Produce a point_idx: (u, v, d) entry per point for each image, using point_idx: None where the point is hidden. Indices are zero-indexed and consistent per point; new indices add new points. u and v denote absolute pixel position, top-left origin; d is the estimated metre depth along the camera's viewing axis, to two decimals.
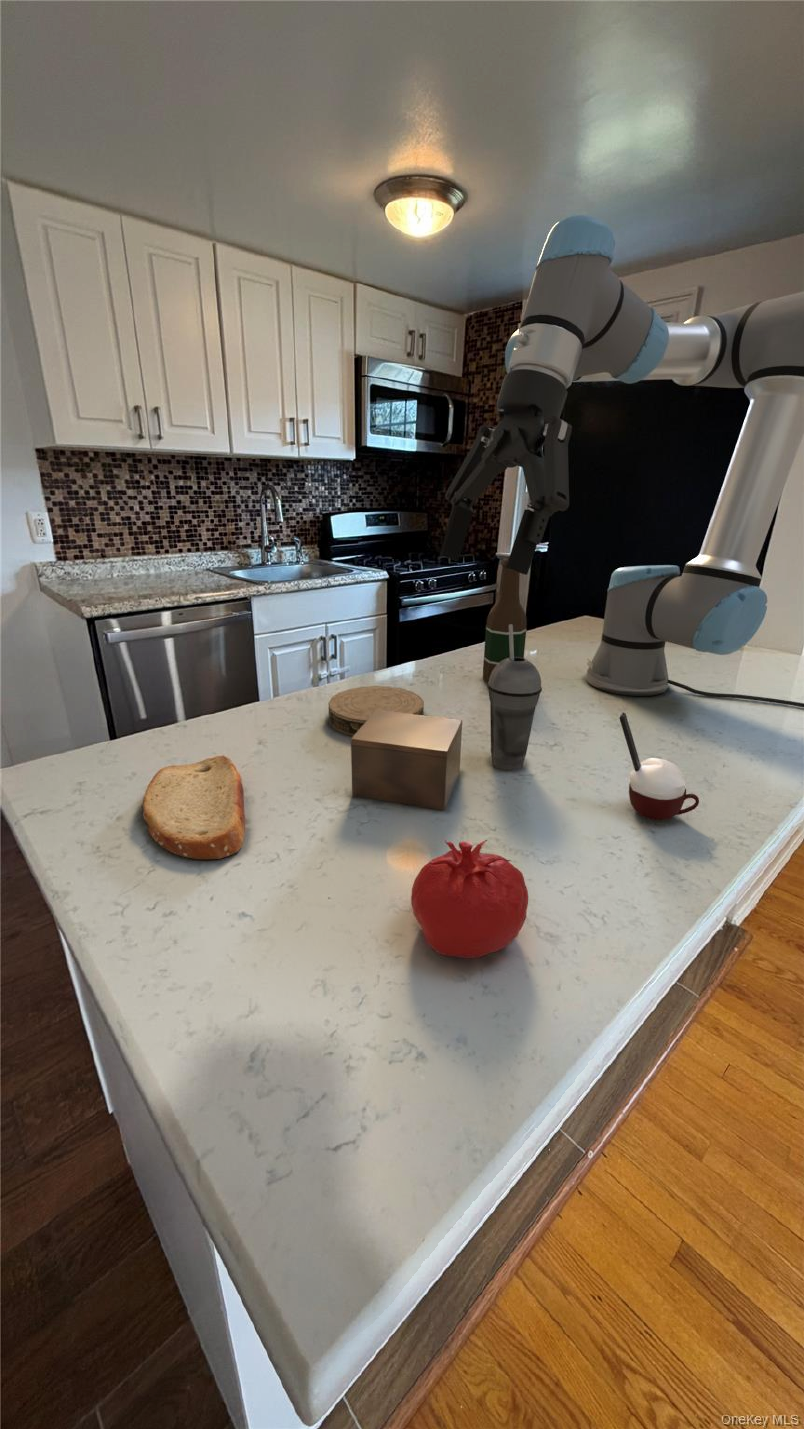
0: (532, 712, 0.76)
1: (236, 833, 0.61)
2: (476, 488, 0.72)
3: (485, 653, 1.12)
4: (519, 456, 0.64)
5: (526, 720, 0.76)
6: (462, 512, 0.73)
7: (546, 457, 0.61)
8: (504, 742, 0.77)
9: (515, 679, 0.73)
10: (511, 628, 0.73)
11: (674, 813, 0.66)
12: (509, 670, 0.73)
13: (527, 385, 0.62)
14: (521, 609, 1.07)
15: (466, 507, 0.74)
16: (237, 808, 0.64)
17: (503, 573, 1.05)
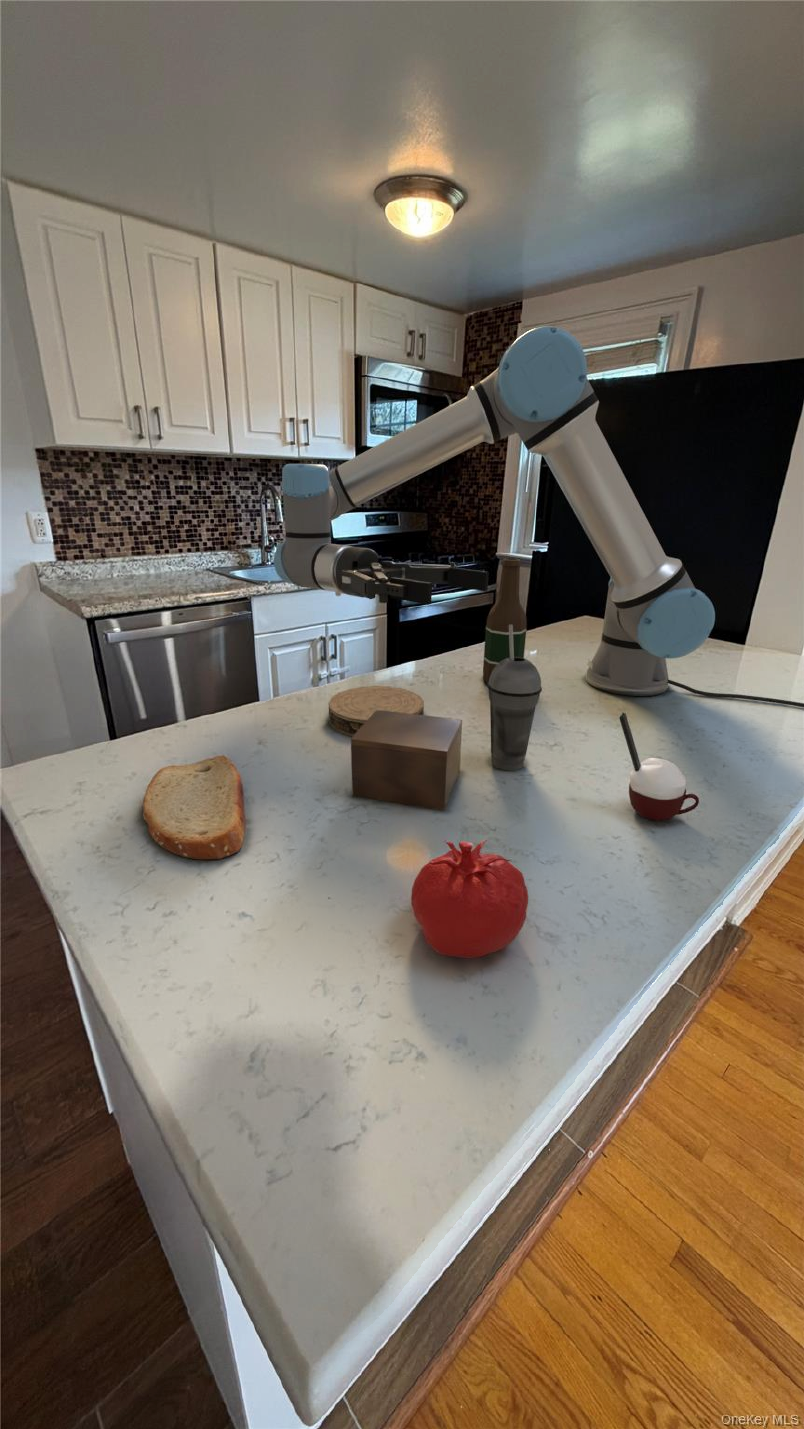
0: (532, 712, 0.76)
1: (236, 833, 0.61)
2: (431, 575, 0.87)
3: (485, 653, 1.12)
4: None
5: (526, 720, 0.76)
6: (451, 579, 0.86)
7: None
8: (504, 742, 0.77)
9: (515, 679, 0.73)
10: (511, 628, 0.73)
11: (674, 813, 0.66)
12: (509, 670, 0.73)
13: (348, 592, 0.88)
14: (521, 609, 1.07)
15: None
16: (237, 808, 0.64)
17: (503, 573, 1.05)
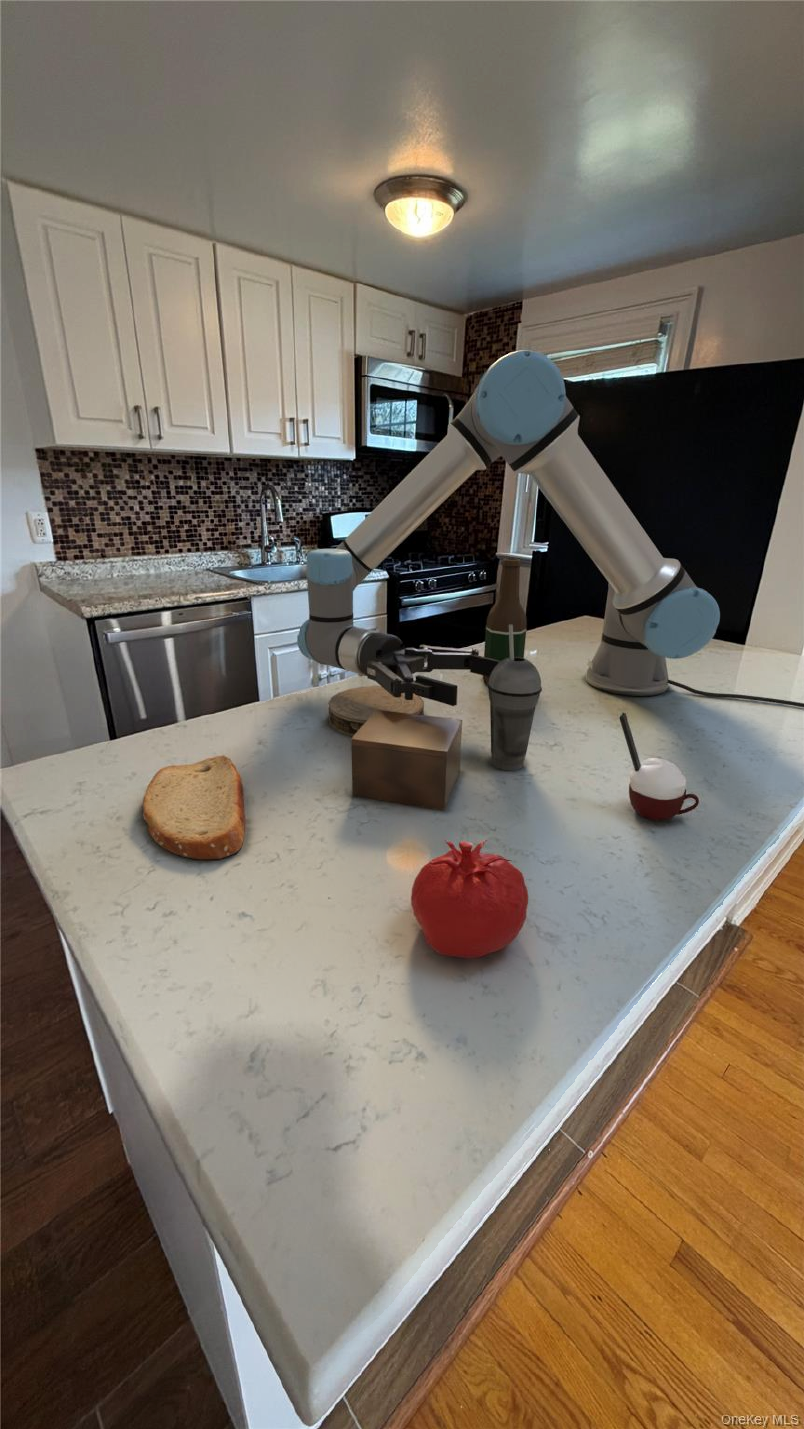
0: (532, 712, 0.76)
1: (236, 833, 0.61)
2: (453, 662, 0.89)
3: (485, 653, 1.12)
4: None
5: (526, 720, 0.76)
6: (473, 666, 0.88)
7: None
8: (504, 742, 0.77)
9: (515, 679, 0.73)
10: (511, 628, 0.73)
11: (674, 813, 0.66)
12: (509, 670, 0.73)
13: None
14: (521, 609, 1.07)
15: None
16: (237, 808, 0.64)
17: (503, 573, 1.05)
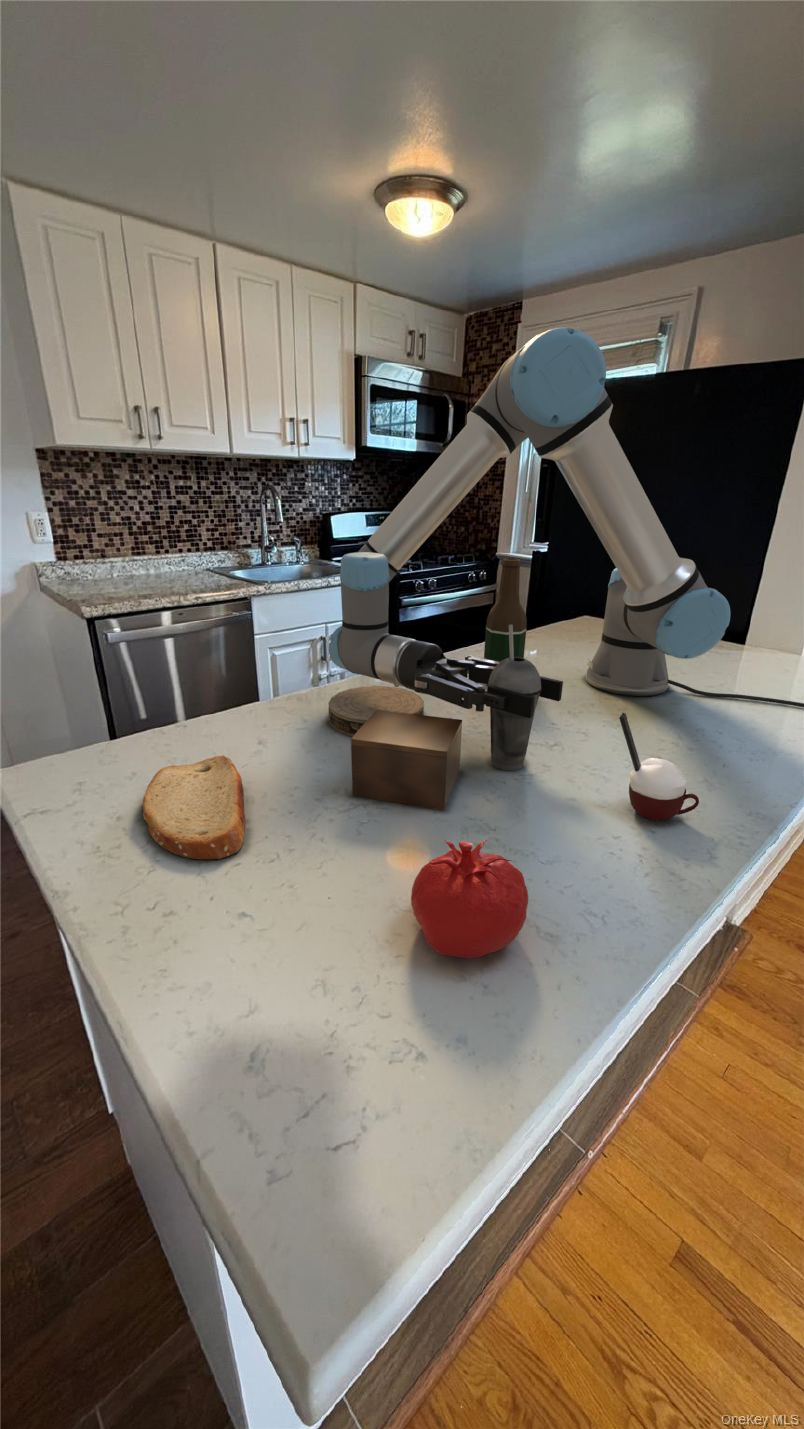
0: None
1: (236, 833, 0.61)
2: None
3: (485, 653, 1.12)
4: None
5: (526, 720, 0.76)
6: None
7: None
8: (504, 742, 0.77)
9: (515, 679, 0.73)
10: (511, 628, 0.73)
11: (674, 813, 0.66)
12: (509, 670, 0.73)
13: (411, 688, 0.86)
14: (521, 609, 1.07)
15: None
16: (237, 808, 0.64)
17: (503, 573, 1.05)
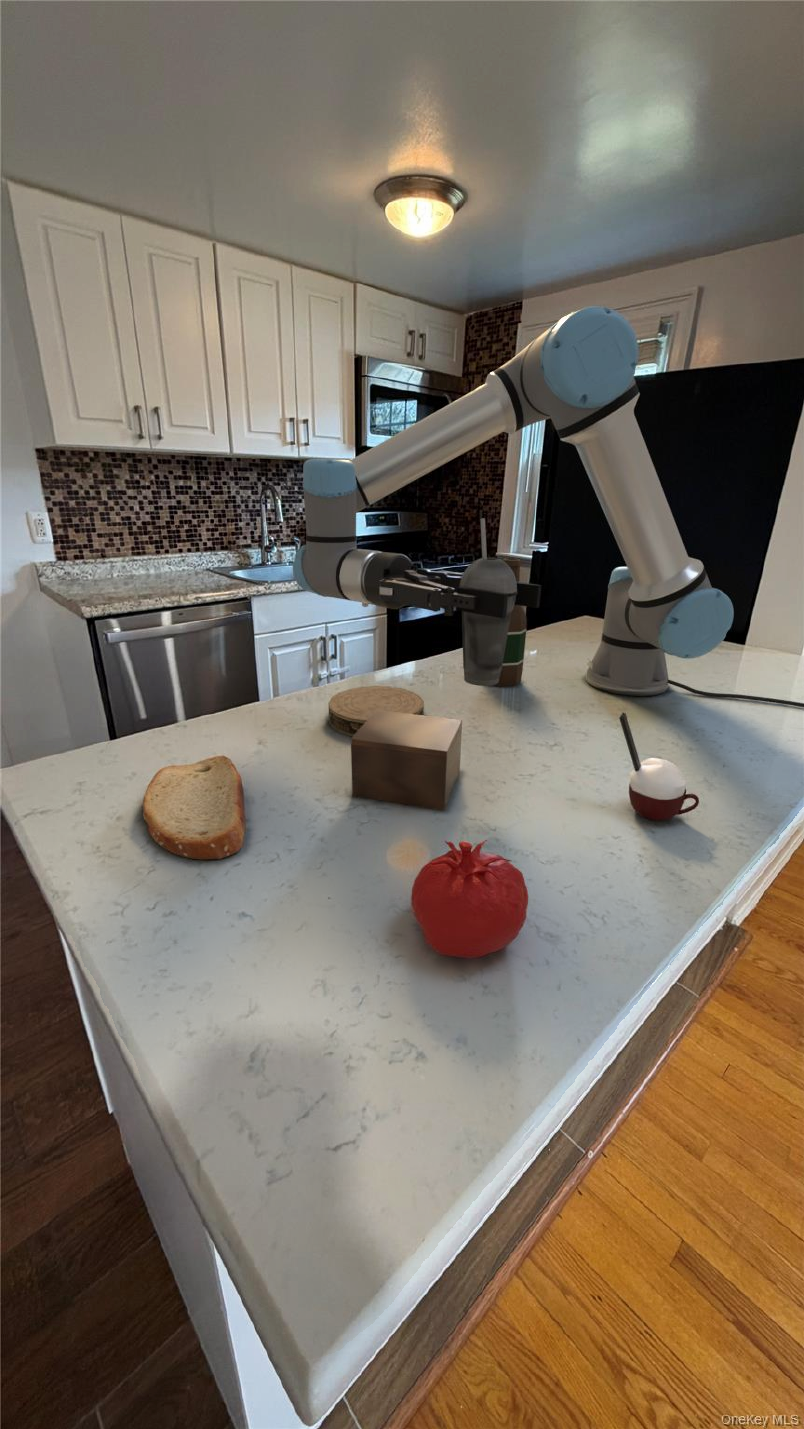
0: (507, 618, 0.69)
1: (236, 833, 0.61)
2: None
3: None
4: None
5: (500, 627, 0.69)
6: None
7: None
8: (476, 653, 0.70)
9: (487, 577, 0.66)
10: (483, 522, 0.66)
11: (674, 813, 0.66)
12: (481, 568, 0.67)
13: (378, 603, 0.79)
14: (521, 609, 1.07)
15: None
16: (237, 808, 0.64)
17: None
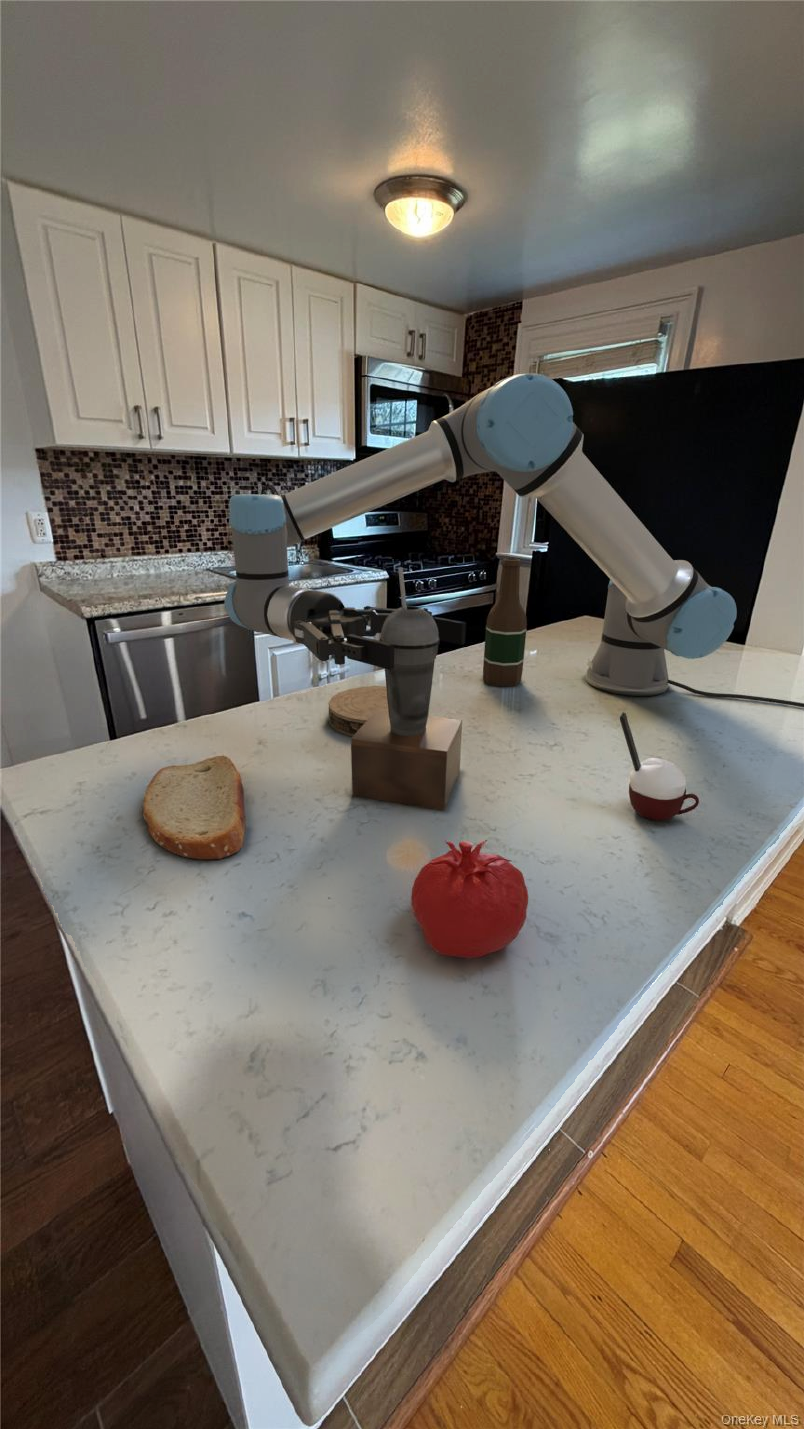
0: (429, 668, 0.67)
1: (237, 833, 0.61)
2: None
3: (485, 653, 1.12)
4: None
5: (422, 677, 0.67)
6: None
7: None
8: (399, 703, 0.68)
9: (405, 628, 0.64)
10: (401, 571, 0.64)
11: (674, 813, 0.66)
12: (399, 619, 0.65)
13: None
14: (521, 609, 1.07)
15: None
16: (237, 808, 0.64)
17: (503, 573, 1.05)
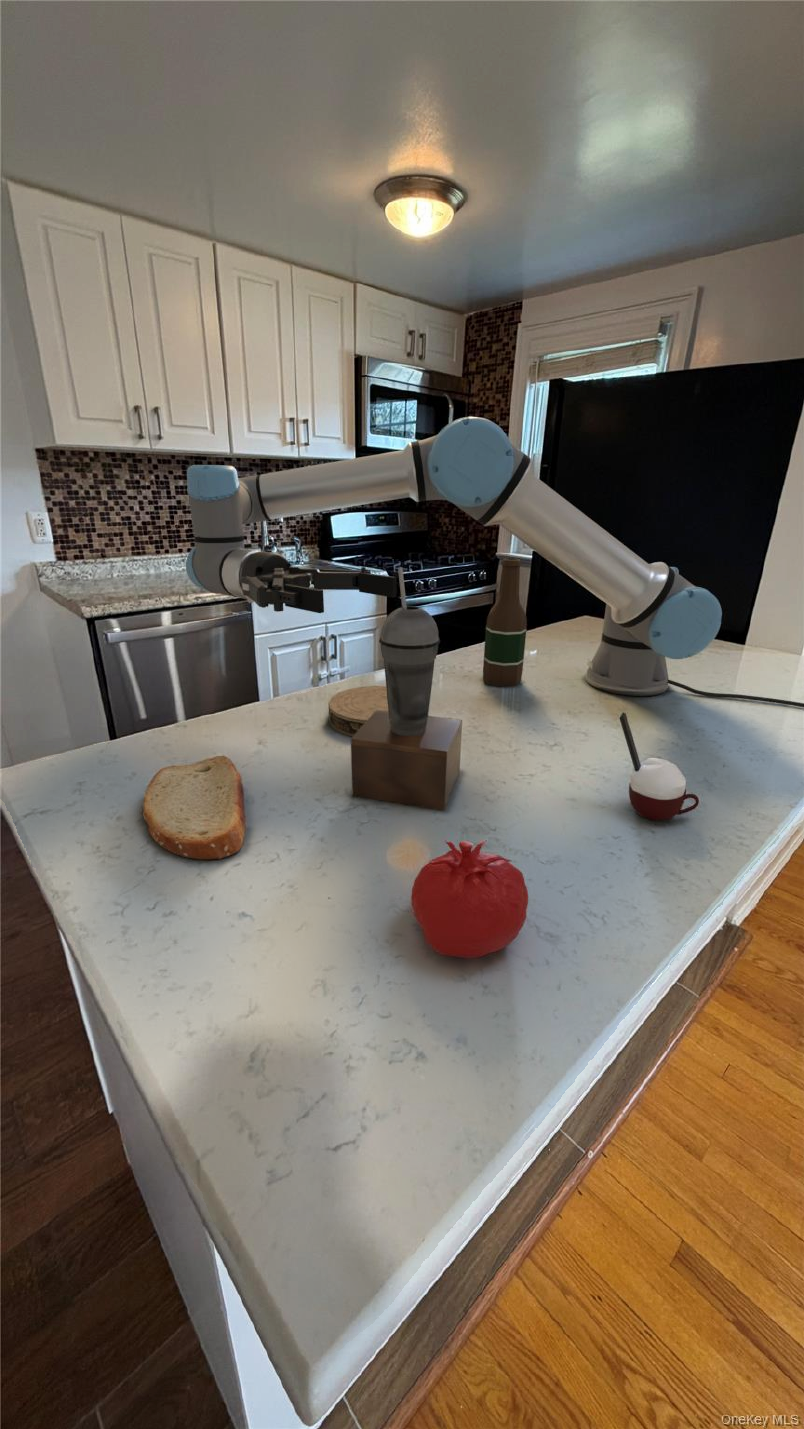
0: (429, 668, 0.67)
1: (237, 833, 0.61)
2: (341, 581, 0.82)
3: (485, 653, 1.12)
4: None
5: (421, 677, 0.67)
6: (361, 584, 0.81)
7: None
8: (399, 703, 0.68)
9: (405, 628, 0.64)
10: (401, 571, 0.64)
11: (674, 813, 0.66)
12: (399, 619, 0.65)
13: None
14: (521, 609, 1.07)
15: None
16: (237, 808, 0.64)
17: (503, 573, 1.05)
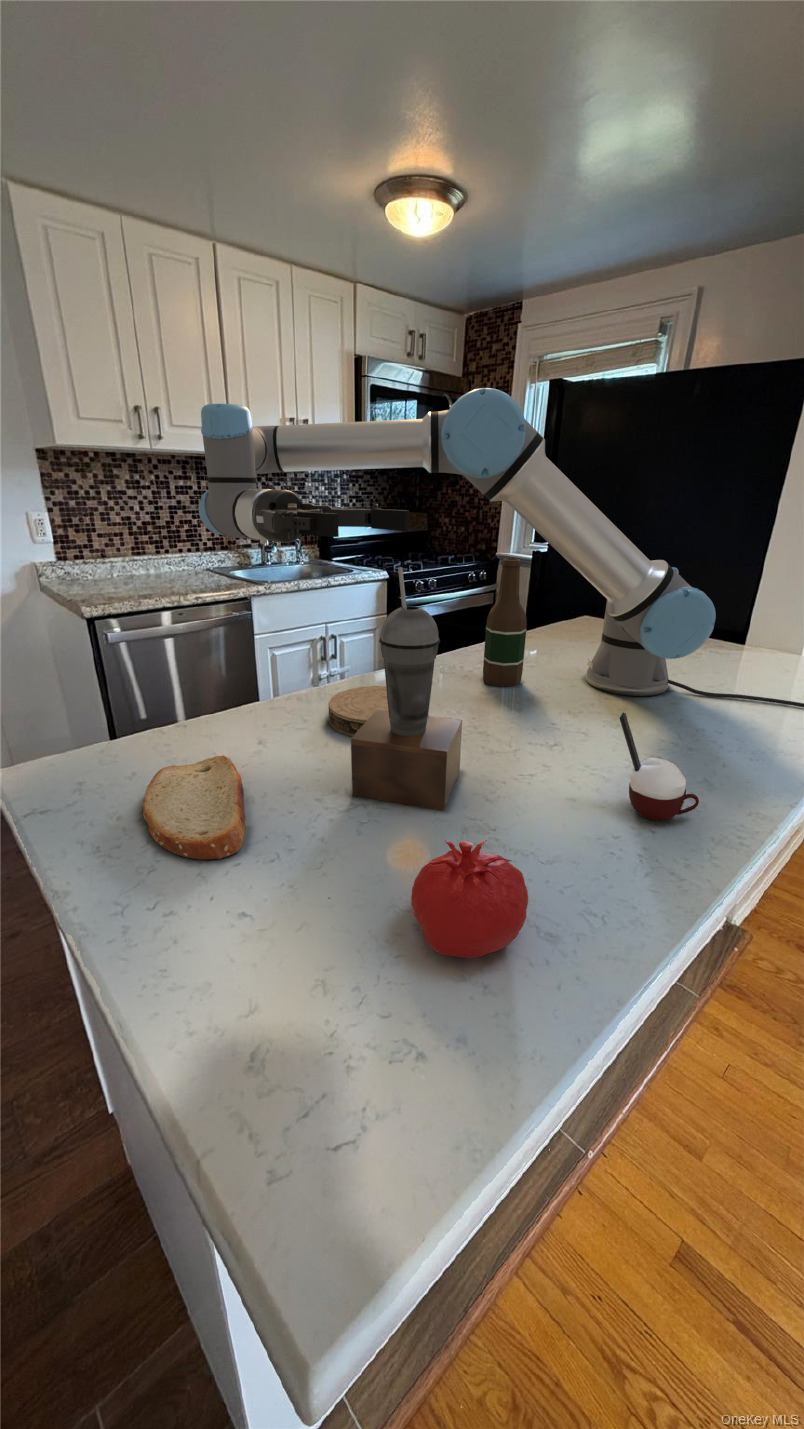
0: (429, 668, 0.67)
1: (237, 833, 0.61)
2: (353, 518, 0.83)
3: (485, 653, 1.12)
4: None
5: (421, 677, 0.67)
6: (374, 520, 0.82)
7: None
8: (399, 703, 0.68)
9: (405, 628, 0.64)
10: (401, 571, 0.64)
11: (674, 813, 0.66)
12: (399, 619, 0.65)
13: (269, 537, 0.85)
14: (521, 609, 1.07)
15: None
16: (237, 808, 0.64)
17: (503, 573, 1.05)
